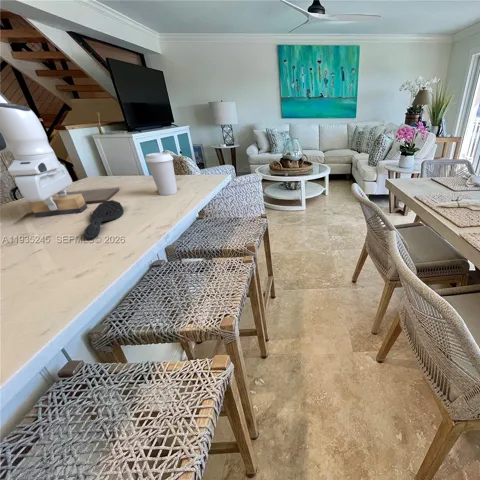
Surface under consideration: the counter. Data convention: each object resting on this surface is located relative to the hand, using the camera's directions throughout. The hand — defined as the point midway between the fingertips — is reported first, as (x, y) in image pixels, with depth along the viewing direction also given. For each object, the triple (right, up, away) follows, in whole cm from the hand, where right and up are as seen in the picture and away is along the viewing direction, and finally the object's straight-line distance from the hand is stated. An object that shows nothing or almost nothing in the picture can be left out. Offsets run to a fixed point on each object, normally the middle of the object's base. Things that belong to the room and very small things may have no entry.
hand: (59, 206), depth 87 cm
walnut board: (-5, +5, +14) cm, 15 cm away
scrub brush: (0, -2, +1) cm, 2 cm away
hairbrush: (+20, -6, -7) cm, 22 cm away
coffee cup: (+24, +8, +20) cm, 32 cm away
